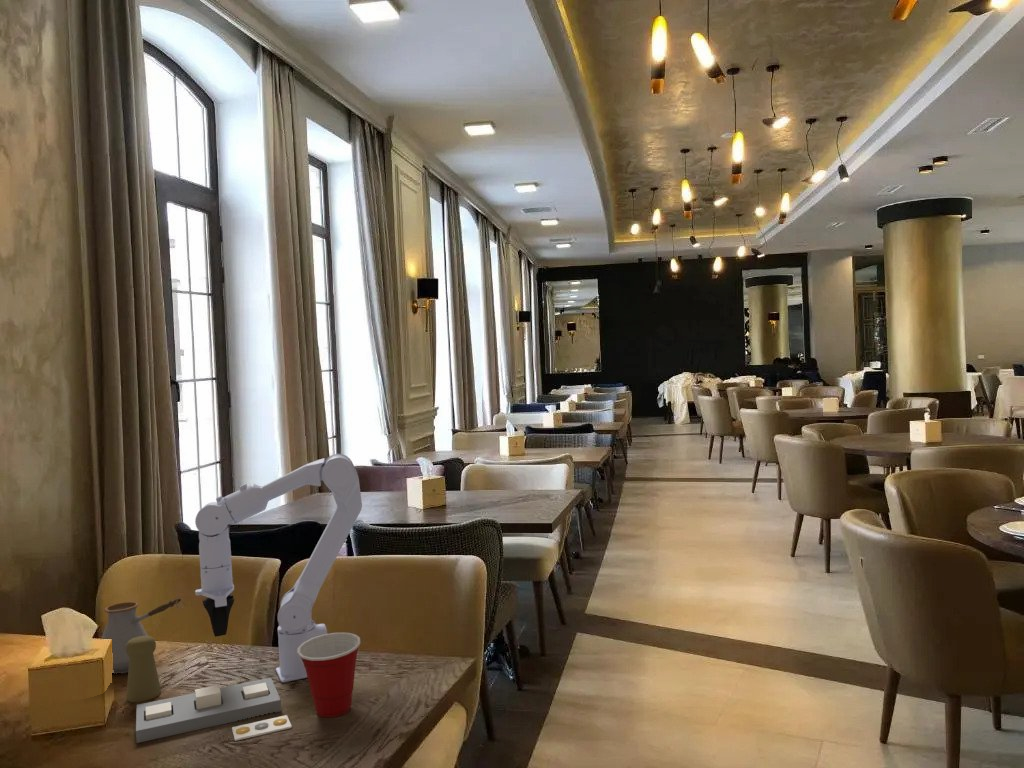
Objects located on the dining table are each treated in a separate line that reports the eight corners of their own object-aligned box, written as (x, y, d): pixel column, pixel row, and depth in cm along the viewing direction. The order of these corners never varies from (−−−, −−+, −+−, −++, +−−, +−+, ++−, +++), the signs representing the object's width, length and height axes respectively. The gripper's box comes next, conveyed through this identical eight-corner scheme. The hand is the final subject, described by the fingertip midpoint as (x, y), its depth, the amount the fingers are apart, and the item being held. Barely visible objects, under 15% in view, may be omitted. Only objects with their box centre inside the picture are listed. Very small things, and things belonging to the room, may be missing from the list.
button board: (271, 687, 150) (271, 677, 150) (281, 711, 139) (280, 699, 139) (137, 716, 140) (136, 704, 140) (136, 743, 130) (135, 731, 129)
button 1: (171, 715, 139) (170, 701, 139) (172, 724, 135) (171, 710, 135) (146, 721, 137) (145, 706, 137) (146, 730, 134) (145, 715, 134)
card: (287, 716, 137) (286, 713, 137) (291, 727, 132) (291, 724, 132) (231, 729, 133) (231, 726, 133) (234, 741, 128) (234, 737, 128)
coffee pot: (81, 675, 162) (76, 602, 162) (125, 655, 173) (120, 587, 173) (165, 683, 156) (160, 607, 155) (205, 662, 166) (201, 591, 166)
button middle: (219, 698, 142) (218, 684, 142) (221, 706, 139) (220, 692, 139) (195, 703, 141) (194, 689, 141) (196, 711, 137) (196, 697, 137)
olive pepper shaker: (147, 702, 146) (143, 643, 146) (118, 701, 148) (115, 642, 147) (168, 689, 152) (164, 632, 152) (140, 688, 153) (136, 632, 153)
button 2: (266, 695, 146) (265, 682, 146) (269, 703, 142) (268, 689, 142) (243, 700, 144) (242, 687, 144) (245, 708, 140) (245, 694, 140)
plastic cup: (287, 721, 135) (283, 651, 135) (324, 695, 145) (320, 630, 145) (342, 728, 131) (338, 655, 131) (376, 701, 141) (372, 634, 141)
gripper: (191, 561, 159) (196, 628, 159) (195, 576, 145) (200, 649, 146) (229, 555, 161) (233, 622, 162) (236, 570, 148) (240, 642, 148)
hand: (220, 634), depth 154 cm, fingers closed
